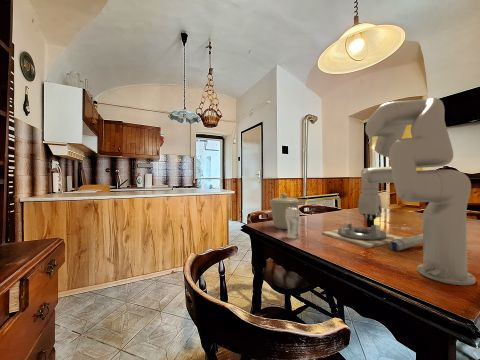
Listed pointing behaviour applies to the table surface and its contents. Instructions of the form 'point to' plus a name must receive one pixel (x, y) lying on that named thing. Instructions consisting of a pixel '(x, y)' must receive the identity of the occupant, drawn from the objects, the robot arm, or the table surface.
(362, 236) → the ring nut
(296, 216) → the beer glass
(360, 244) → the nut board
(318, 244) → the table surface
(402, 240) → the grey flashlight
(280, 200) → the canister
